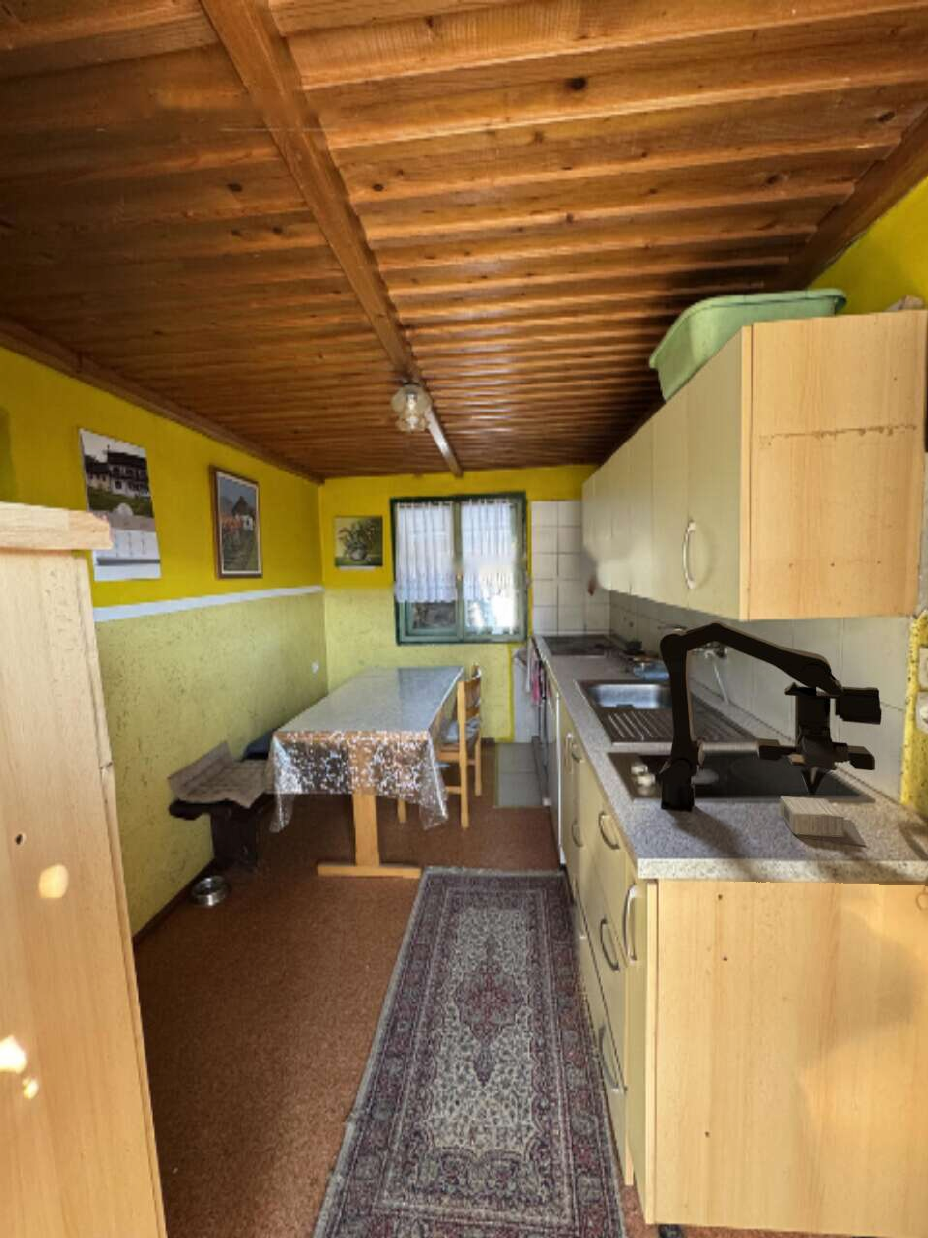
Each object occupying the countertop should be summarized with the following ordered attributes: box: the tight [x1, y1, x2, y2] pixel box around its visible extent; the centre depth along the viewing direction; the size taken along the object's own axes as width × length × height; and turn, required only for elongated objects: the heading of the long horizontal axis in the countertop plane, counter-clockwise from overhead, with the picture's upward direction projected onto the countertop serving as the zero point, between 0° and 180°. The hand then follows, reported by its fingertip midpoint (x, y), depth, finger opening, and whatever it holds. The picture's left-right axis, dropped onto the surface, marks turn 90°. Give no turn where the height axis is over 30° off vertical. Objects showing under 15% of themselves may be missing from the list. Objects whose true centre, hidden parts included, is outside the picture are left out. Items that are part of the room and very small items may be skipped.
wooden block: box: [780, 795, 845, 837], centre depth 102 cm, size 8×4×9 cm
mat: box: [795, 819, 867, 848], centre depth 101 cm, size 11×10×1 cm
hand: (811, 794), depth 100 cm, fingers closed
